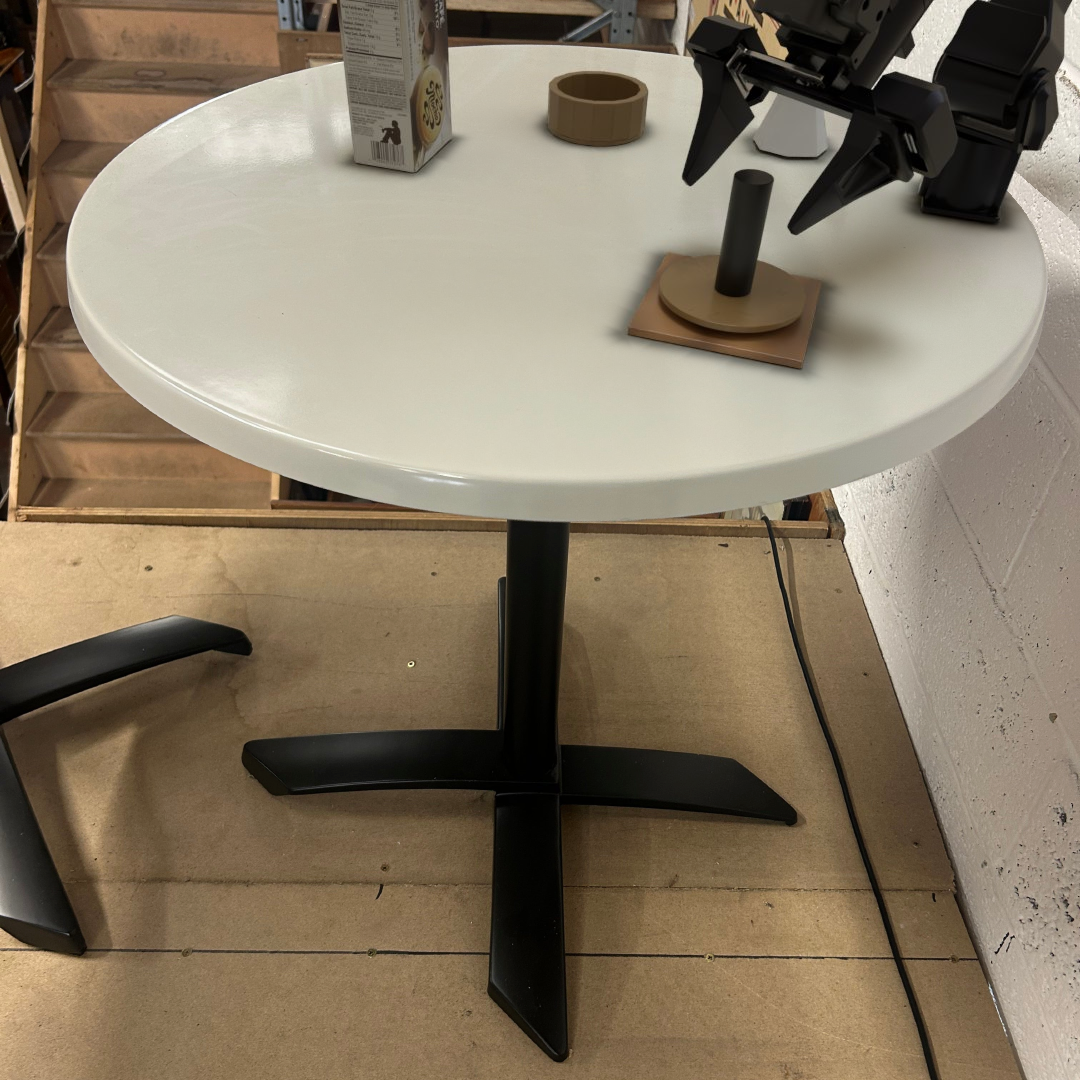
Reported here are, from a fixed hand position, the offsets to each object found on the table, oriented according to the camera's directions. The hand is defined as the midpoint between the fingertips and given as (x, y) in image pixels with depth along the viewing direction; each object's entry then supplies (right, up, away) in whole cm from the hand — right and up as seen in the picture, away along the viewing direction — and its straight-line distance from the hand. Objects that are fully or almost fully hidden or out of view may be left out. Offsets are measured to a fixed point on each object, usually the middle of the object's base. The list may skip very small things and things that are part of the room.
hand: (736, 206), depth 60 cm
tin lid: (+1, -4, +5) cm, 7 cm away
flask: (+12, +17, +30) cm, 36 cm away
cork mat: (+1, -5, +6) cm, 8 cm away
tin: (-7, +19, +32) cm, 38 cm away
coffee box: (-26, +15, +26) cm, 39 cm away
